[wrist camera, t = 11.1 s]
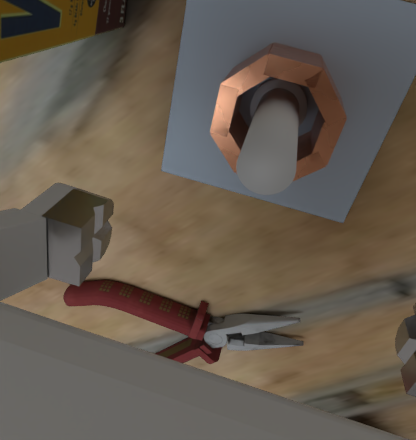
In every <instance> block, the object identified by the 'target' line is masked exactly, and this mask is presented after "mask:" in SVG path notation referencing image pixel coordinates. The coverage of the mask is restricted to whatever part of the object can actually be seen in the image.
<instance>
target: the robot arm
mask: <svg viewBox="0 0 416 440" xmlns="http://www.w3.org/2000/svg"><path fill="white" fill-rule="evenodd" d="M113 209H114V203H113V201H112V199H109V198H106V197H103V196H100V195H97V194H94V193H91V192H88V191H85V190H82V189H79V188H75V187H72V186H69V185H66V184H62V183H55V184H54V185H52V186H51V187H50V188H49V189H47V190H46V191H45V192H43V193H42V194H41V195H39V196H38V197H37V198H35V199H34V200H33V201H31V202H30V203H29V204H27V205H26V206H25V207H24V208H22V209H21V210H19V209H16V208H13V209H8V210H4V211H0V301H1V300H3V299H5V298H7V297H9V296H12V295H14V294H16V293H18V292H20V291H22V290H24V289H27V288H29V287H31V286H33V285H35V284H37V283H39V282H42V281H44V280H46V279H47V277H49V278H52V279H56V280H59V281H62V282H66V283H69V284H73V285H76V286H80V285H81V284H82V282H83V281H84V280H85V278H86V277H87V276H88V275H89V273H90V272H91V271H92V263H93V262H95V261H98V260H100V259H101V258H102V256H103V255H104V254H105V252H106V249H107V247H108V245H109V242H110V238H111V233H112V227H111V225H110V223H109V221H108V220H109V218H110V217H111V216H112V215H113ZM413 309H414V314H415V315H413V316H411V317H408V318H406V319H404V320H403V322H402V323H401V325H400V326H399V328H398V331H397V335H396V338H395V348H396V352H397V356H398V357H399V358H400V359H401V360H402V361H403V363H404V364H405V365H404V366H403V367H402V369H401V374H402V378H403V382H404V386H405V390H406V394H409V395H412V396H415V397H416V303H415V305H414V306H413ZM0 440H409V439H406V438H403V437H400V436H397V435H394V434H391V433H388V432H385V431H382V430H379V429H376V428H373V427H370V426H367V425H364V424H362V423H359V422H356V421H353V420H350V419H347V418H344V417H341V416H338V415H335V414H332V413H329V412H326V411H323V410H320V409H317V408H314V407H311V406H308V405H305V404H302V403H299V402H296V401H293V400H290V399H287V398H284V397H281V396H278V395H275V394H272V393H270V392H267V391H264V390H261V389H258V388H255V387H252V386H249V385H246V384H243V383H240V382H237V381H234V380H231V379H228V378H225V377H222V376H219V375H216V374H213V373H210V372H207V371H204V370H201V369H198V368H195V367H192V366H189V365H186V364H183V363H180V362H177V361H174V360H171V359H168V358H165V357H162V356H160V355H157V354H154V353H151V352H148V351H145V350H142V349H139V348H136V347H133V346H130V345H127V344H124V343H121V342H118V341H115V340H112V339H109V338H106V337H103V336H100V335H97V334H94V333H91V332H88V331H85V330H82V329H79V328H76V327H73V326H70V325H67V324H64V323H61V322H58V321H55V320H52V319H49V318H46V317H43V316H40V315H37V314H34V313H31V312H29V311H26V310H23V309H20V308H17V307H14V306H11V305H8V304H5V303H2V302H0Z"/></svg>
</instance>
